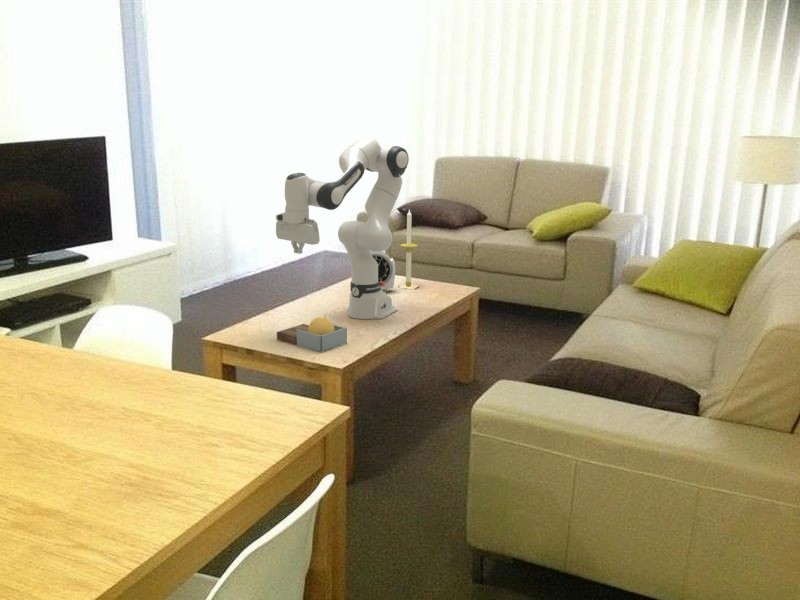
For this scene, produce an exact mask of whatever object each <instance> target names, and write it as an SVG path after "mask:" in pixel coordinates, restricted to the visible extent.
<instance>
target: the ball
mask: <svg viewBox="0 0 800 600" xmlns="http://www.w3.org/2000/svg"><path fill="white" fill-rule="evenodd" d="M334 325H335V324H334ZM334 325H333V322H332V321H331V320H330V319H328V318H327V317H316V318H315V319H313V320H311V321H310V323H309V326H308V332H310V333H313V334H317V335H324V334H327V333H330V332H334V331H335V328H334Z"/></svg>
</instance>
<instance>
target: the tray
mask: <svg viewBox="0 0 800 600" xmlns="http://www.w3.org/2000/svg"><path fill="white" fill-rule="evenodd" d="M333 325H334V328H335V331H334V332H330V333H327V334H324V335H317V334H313V333H310V332H306V331H302V330H299V329H297V330H296V335H297V345H296V346H299V347H302V348H305V349H308V350H312V351H316V352H319V353H323V352H325V351H329V350H332V349H335V348H337V346H338V347H340V346H343V345H346V344H347V343H348V341H347V340H348V334H347V333H348V330H347V329H348V328H347V327H346V326H340V325H337V324H333ZM345 343H346V344H345ZM342 344H343V345H342ZM334 347H335V348H334ZM331 348H332V349H331Z"/></svg>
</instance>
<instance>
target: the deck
mask: <svg viewBox="0 0 800 600" xmlns="http://www.w3.org/2000/svg"><path fill="white" fill-rule="evenodd" d="M308 326H309V325H308V324H305V323H302V324H298V325H296V326H292V327H289V328H286V329H283V330H279V331H276V340H277V341H280V340H281V341H280V342H284V343H287V342H288V343H287V344H290V343H292V344H291V345H295V346H298V345H297V335H296V330H297V329H299V330H302V331H306V332H308Z"/></svg>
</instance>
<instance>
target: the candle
mask: <svg viewBox="0 0 800 600" xmlns="http://www.w3.org/2000/svg"><path fill="white" fill-rule="evenodd" d="M412 215H413V214H412V213H411V210H410V208H409V209H408V213H406V243H400V245H399V247H401V248H406V250H405V260H406V261H405V284H406V286H407V287H410V286H411V284H412V252H413V251H412V248H416V247H418V246H419V244H417V243H412V219H413V218H412Z"/></svg>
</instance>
